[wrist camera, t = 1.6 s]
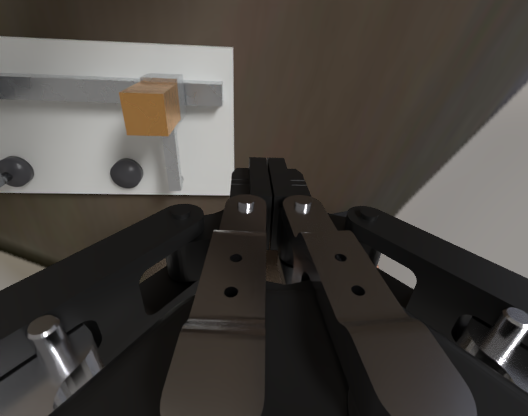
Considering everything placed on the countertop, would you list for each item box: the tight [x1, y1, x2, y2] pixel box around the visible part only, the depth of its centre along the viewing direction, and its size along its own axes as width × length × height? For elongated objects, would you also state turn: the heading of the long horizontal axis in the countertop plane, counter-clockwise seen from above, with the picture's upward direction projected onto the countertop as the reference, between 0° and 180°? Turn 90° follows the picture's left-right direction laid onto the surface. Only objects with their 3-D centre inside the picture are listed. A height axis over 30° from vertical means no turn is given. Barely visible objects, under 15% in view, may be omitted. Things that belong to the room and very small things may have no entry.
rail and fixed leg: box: [0, 73, 224, 187], centre depth 27 cm, size 11×26×10 cm, turn 87°
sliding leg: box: [119, 73, 186, 191], centre depth 27 cm, size 11×3×8 cm, turn 177°
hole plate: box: [0, 36, 234, 195], centre depth 32 cm, size 16×28×3 cm, turn 87°
